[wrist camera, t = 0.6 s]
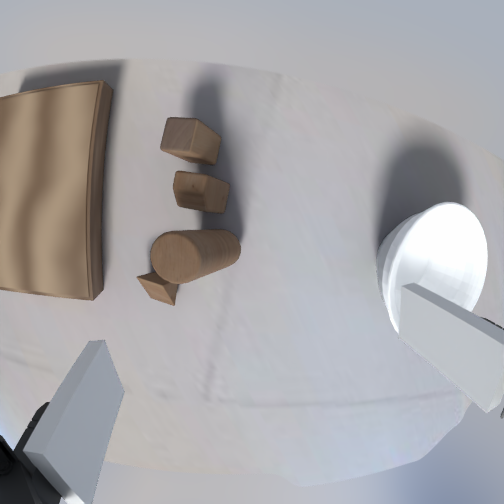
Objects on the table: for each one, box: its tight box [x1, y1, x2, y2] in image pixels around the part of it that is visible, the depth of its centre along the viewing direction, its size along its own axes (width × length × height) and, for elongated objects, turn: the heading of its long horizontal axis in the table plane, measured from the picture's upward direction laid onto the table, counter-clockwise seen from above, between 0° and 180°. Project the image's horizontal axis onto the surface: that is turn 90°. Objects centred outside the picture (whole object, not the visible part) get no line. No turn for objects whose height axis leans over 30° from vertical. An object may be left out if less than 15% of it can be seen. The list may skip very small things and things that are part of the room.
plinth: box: [0, 80, 113, 301], centre depth 26 cm, size 14×22×4 cm, turn 176°
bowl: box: [376, 202, 488, 333], centre depth 32 cm, size 16×16×8 cm
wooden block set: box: [137, 117, 241, 306], centre depth 27 cm, size 18×9×10 cm, turn 168°
